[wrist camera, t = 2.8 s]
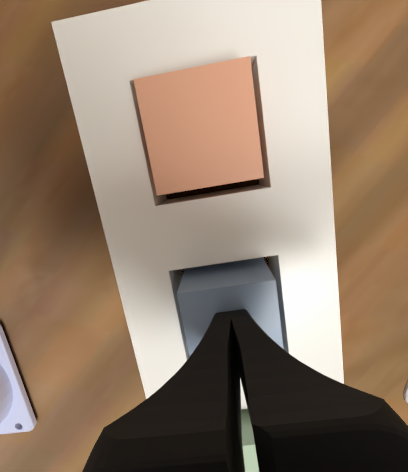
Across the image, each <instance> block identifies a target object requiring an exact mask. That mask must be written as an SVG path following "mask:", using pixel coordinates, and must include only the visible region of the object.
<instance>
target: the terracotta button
mask: <svg viewBox="0 0 408 472" xmlns="http://www.w3.org/2000/svg"><path fill="white" fill-rule="evenodd" d="M133 80H134V85H135V90H136V95H137V100H138V105H139V110H140V114H141V119H142V124H143V129H144V134H145V139H146V144H147V149H148V154H149V159H150V164H151V169H152V174H153V179H154V184H155V188H156V193H157V196H158V195H164V194H170V193H176V192H182V191H188V190H194V189H200V188H206V187H212V186H218V185H224V184H230V183H236V182H242V181H248V180H254V179H260V178H264V173H263V164H262V155H261V146H260V137H259V129H258V120H257V111H256V102H255V94H254V85H253V76H252V67H251V59H250V56H247V57H242V58H237V59H232V60H227V61H222V62H217V63H212V64H207V65H202V66H197V67H192V68H187V69H182V70H177V71H172V72H167V73H162V74H157V75H152V76H147V77H142V78H137V79H133Z"/></svg>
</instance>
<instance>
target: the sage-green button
mask: <svg viewBox="0 0 408 472" xmlns="http://www.w3.org/2000/svg"><path fill="white" fill-rule="evenodd" d="M241 424H242V445H243V455H244V464H245V472H259V467H258V461H257V454H256V448H255V441H254V435H253V429H252V425H251V421H250V417H249V412H248V409H241Z"/></svg>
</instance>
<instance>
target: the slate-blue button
mask: <svg viewBox="0 0 408 472" xmlns="http://www.w3.org/2000/svg"><path fill="white" fill-rule="evenodd" d="M177 297H178V302H179V307H180V312H181V317H182V322H183V327H184V332H185V337H186V341H187V346H188V351H189V356H191V354H192V353H193V351H194V350H195V348H196V347H197V346H198V344H199V343H200V341H201V339H202V338H203V336H204V334H205V332H206V331H207V329H208V327H209V325H210V323H211V321H212V319H213V316H214V315H215V313H218V312H226V311H234V310H241V309H246V310H247V311H248V312H249V314H250V315H251V317H252V318H253V319H254V321H255V322H256V323H257V324H258V325H259V326H260V328H261V329H262V330H263V331H264V332H265V333H266V334H267V335H268V336H269V337H270V338H271V339H272V340H273V341H275V342H276V343H277V344H278V345H279V346H280V347H281V348H283V339H282V331H281V322H280V313H279V304H278V295H277V287H276V279H275V278H274V276H273V274H272V273H271V271H270V269H269V267H268V266H267V264H266V262H265V261H264V259H263V257H260V258H253V259H247V260H240V261H233V262H226V263H219V264H212V265H205V266H198V267H192V268H185V269H184V272H183V275H182V278H181V282H180V285H179V288H178V291H177ZM283 349H284V348H283Z"/></svg>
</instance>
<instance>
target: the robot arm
mask: <svg viewBox="0 0 408 472" xmlns="http://www.w3.org/2000/svg"><path fill="white" fill-rule="evenodd" d="M240 378H241V383H242V387H243V391H244V395H245V400H246V404H247V408H248V412H249V417H250V421H251V425H252V429H253V435H254V441H255V448H256V454H257V461H258V467H259V472H408V426H407V425H406V423H405V422H404V421H403V420H402V419H401V418H400V416H399V415H398V414H397V413H396V412H395V411H394V410H393V409H392V408H391V407H390V406H389V405H388V404H387V403H386V402H385V400H384V399H382V398H379V397H376V396H373V395H371V394H368V393H365V392H363V391H360V390H357V389H355V388H352V387H349V386H347V385H345V384H342V383H340V382H338V381H336V380H334V379H332V378H329V377H327V376H325V375H323V374H321V373H320V372H318V371H316V370H314V369H312V368H311V367H309V366H307V365H306V364H304V363H302V362H301V361H299V360H297V359H296V358H295V357H293V356H292V355H290V354H289V353H288V352H286V351H285V350H284V349H283V348H281V347H280V346H279V345H278V344H277V343H276V342H275V341H273V340H272V339H271V338H270V337H269V336H268V335H267V334H266V333H265V332H264V331H263V330H262V329H261V328H260V326H259V325H258V324H257V323H256V322H255V321H254V319H253V318H252V317H251V315H250V314H249V312H248V311H247V310H246V309H241V310H234V311H226V312H218V313H215V315H214V316H213V319H212V321H211V323H210V325H209V327H208V329H207V331H206V332H205V334H204V336H203V338H202V339H201V341H200V343H199V344H198V346H197V347H196V348H195V350H194V351H193V353H192V354H191V356H190V357H189V358H188V360H187V361H186V362H185V363H184V365H183V366H182V367H181V368H180V369H179V370H178V371H177V372H176V373H175V374H174V375H173V376H172V377H171V378H170V379H169V380H168V381H167V382H166V383H165V384H164V385H163V386H162V387H161V388H160V389H158V390H157V391H156V392H155V393H154V394H152V395H151V396H150V397H149V398H147V399H146V400H145V401H143V402H142V403H141V404H140V405H138V406H137V407H135V408H134V409H133V410H131V411H129V412H128V413H126V414H125V415H123V416H122V417H120V418H119V419H117V420H116V421H114V422H113V423H111V424H109V425H108V426H106V427H104V429H103V431H102V432H101V434H100V436H99V438H98V440H97V442H96V443H95V445H94V447H93V449H92V452H91V454H90V456H89V458H88V460H87V463H86V465H85V467H84V469H83V472H245V464H244V455H243V445H242V424H241V386H240ZM36 423H37V422H36V418H35V415H34V413H33V410H32V407H31V405H30V402H29V399H28V396H27V394H26V391H25V388H24V385H23V383H22V380H21V377H20V375H19V372H18V369H17V366H16V364H15V361H14V358H13V356H12V353H11V350H10V347H9V345H8V342H7V339H6V337H5V334H4V331H3V328H2V326H1V325H0V434H7V433H17V432H26V431H31V430H32V429H33V428H34V427H35V425H36Z"/></svg>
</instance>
